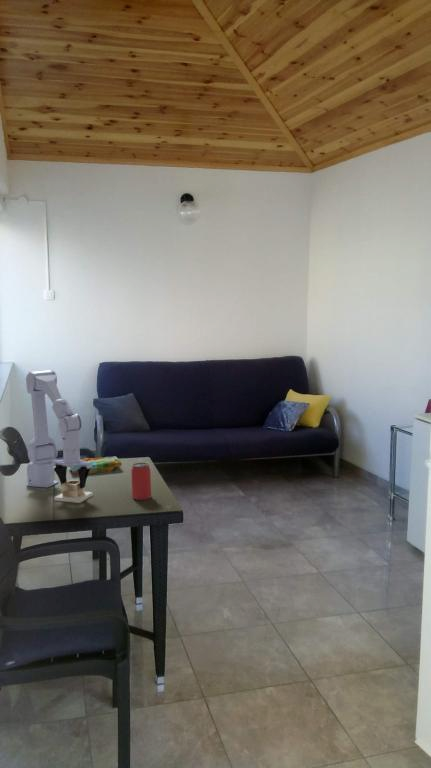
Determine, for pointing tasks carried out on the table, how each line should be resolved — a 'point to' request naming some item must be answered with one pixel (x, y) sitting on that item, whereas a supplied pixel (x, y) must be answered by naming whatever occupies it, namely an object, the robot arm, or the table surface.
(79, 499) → the pin block
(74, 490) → the collar
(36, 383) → the robot arm
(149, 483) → the beer can
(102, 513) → the table surface
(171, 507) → the table surface
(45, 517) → the table surface
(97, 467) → the puzzle game
